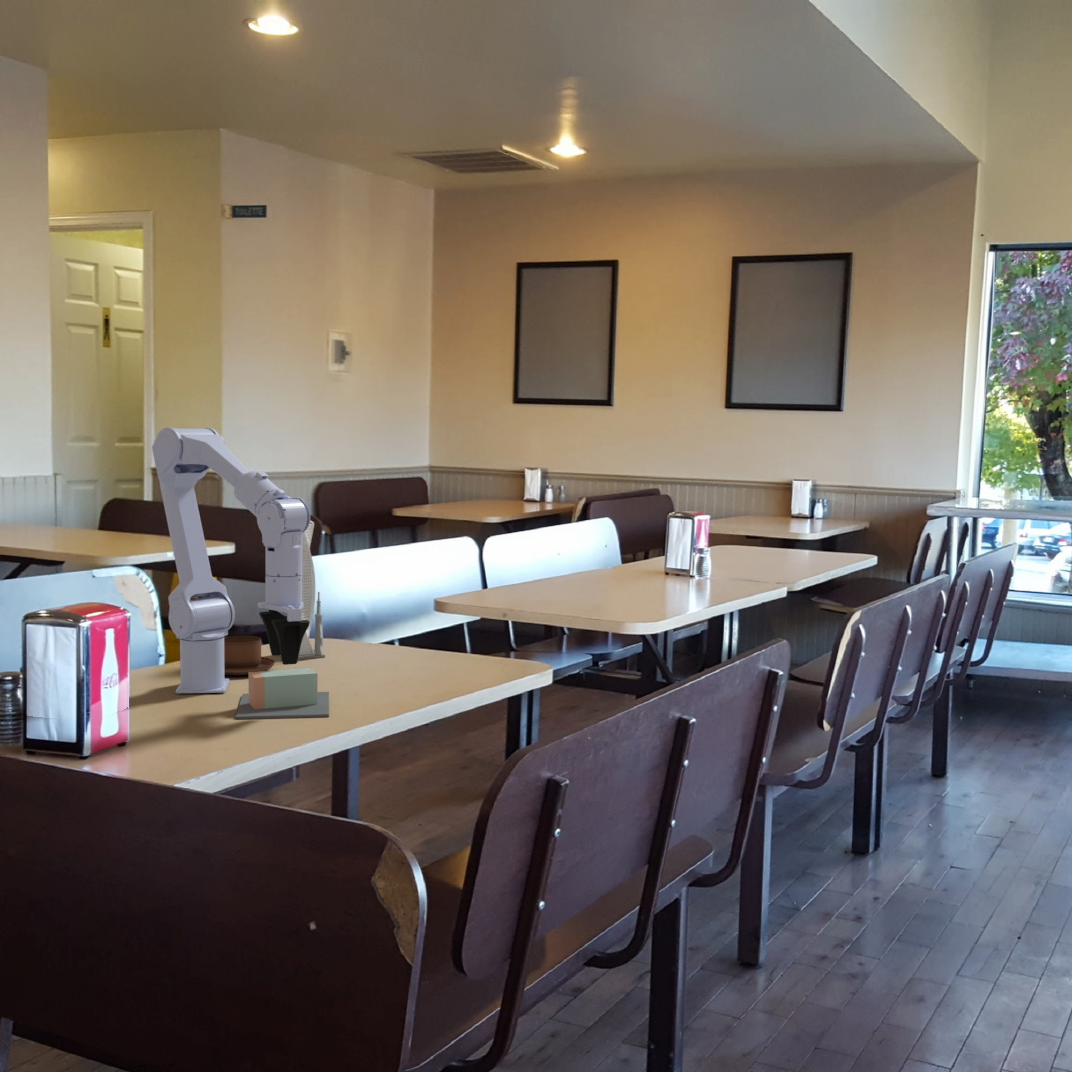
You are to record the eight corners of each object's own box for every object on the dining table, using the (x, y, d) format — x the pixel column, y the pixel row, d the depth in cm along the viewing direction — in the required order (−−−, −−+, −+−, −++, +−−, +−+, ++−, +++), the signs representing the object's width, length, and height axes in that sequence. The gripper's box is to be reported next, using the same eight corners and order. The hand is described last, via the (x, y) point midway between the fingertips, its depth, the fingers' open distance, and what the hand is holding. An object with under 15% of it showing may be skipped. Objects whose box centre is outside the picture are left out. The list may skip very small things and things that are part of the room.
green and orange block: (310, 698, 199) (310, 667, 199) (317, 704, 195) (317, 673, 195) (248, 703, 195) (248, 672, 194) (254, 709, 191) (254, 677, 190)
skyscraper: (282, 660, 232) (281, 513, 229) (269, 653, 239) (269, 510, 236) (324, 657, 236) (324, 512, 233) (311, 650, 243) (311, 509, 240)
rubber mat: (242, 695, 202) (242, 693, 202) (328, 694, 204) (328, 691, 204) (235, 719, 186) (235, 716, 186) (328, 716, 188) (328, 714, 188)
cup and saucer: (193, 676, 217) (193, 642, 216) (227, 664, 229) (227, 631, 228) (254, 681, 214) (254, 646, 213) (286, 668, 225) (286, 635, 225)
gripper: (249, 570, 198) (249, 652, 199) (268, 581, 185) (268, 669, 186) (292, 568, 201) (292, 650, 202) (314, 579, 188) (314, 666, 189)
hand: (283, 659), depth 194 cm, fingers open, 7 cm apart
